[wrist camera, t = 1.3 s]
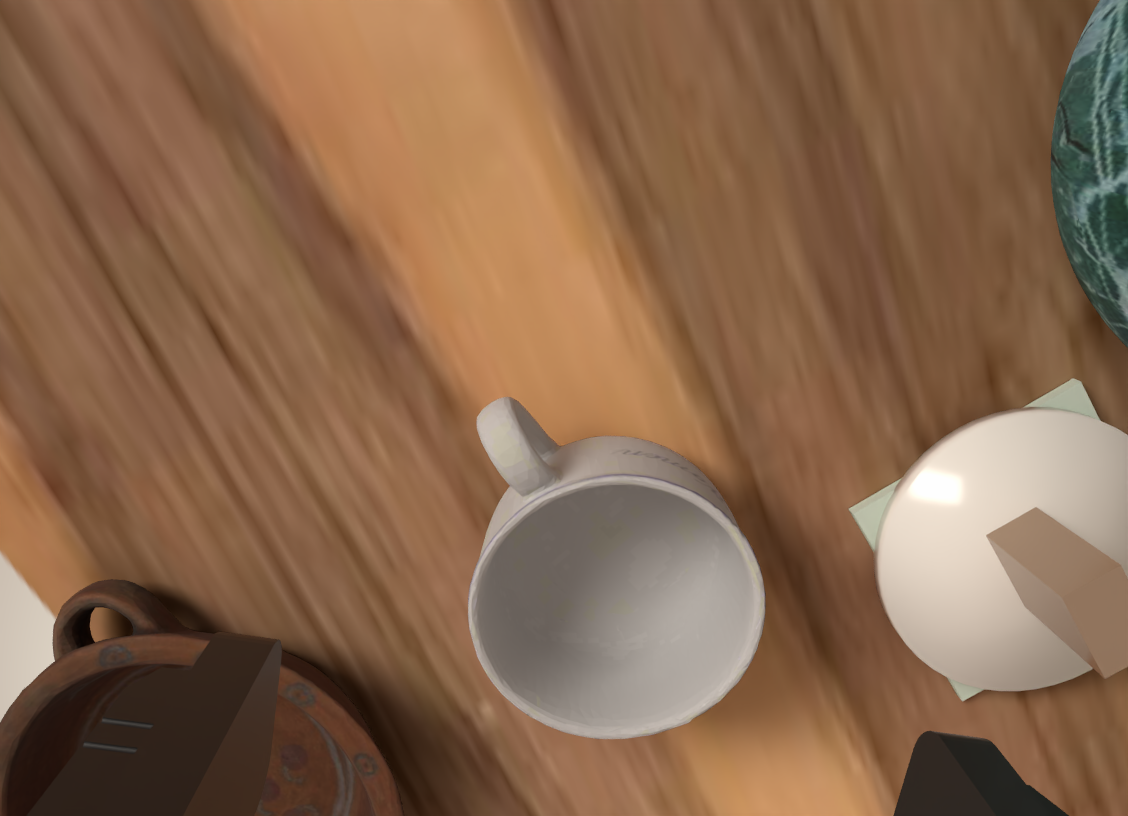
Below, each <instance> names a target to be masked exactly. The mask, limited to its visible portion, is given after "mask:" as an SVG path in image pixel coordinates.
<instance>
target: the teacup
mask: <svg viewBox="0 0 1128 816" xmlns="http://www.w3.org/2000/svg"><path fill="white" fill-rule="evenodd" d="M477 430H478V433H479V436H480V439H481V442H482V444H483V446H484V448H485V449H486V451H487V453H488V455H489V457H490V459H491V461H492V462H493V464H494V465H495V467H496V468H497V470H498V471H499V473H500V474H501V475H502V477H503V478H504V479H505V480H506V482H507V483H508V484H509V485H510V487H509V488H508V490H507V491H506V492H505V494H504V495H503V497H502V499H501V500H500V502H499V504H498V506H497V508H496V510H495V512H494V514H493V516H492V519H491V521H490V524H489V527H488V529H487V533H486V536H485V540H484V544H483V547H482V551H481V555H480V558H479V561H478V563H477V565H476V568H475V571H474V574H473V577H472V581H471V584H470V589H469V598H468V619H469V629H470V633H471V637H472V640H473V644H474V647H475V650H476V653H477V656H478V659H479V661H480V663H481V665H482V667H483V668H484V670H485V672H486V674H487V675H488V677H489V678H490V680H491V681H492V683H493V684H494V685H495V686H496V688H497V689H498V690H499V691H500V692H501V694H502V695H503V696H505V697H506V698H507V699H508V700H509V701H510V702H511V703H512V704H514V705H515V706H516V707H517V708H519V709H520V710H521V711H523V712H524V713H526V714H527V715H528V716H530V717H532V718H534V719H536V720H538V721H539V722H541V723H543V724H545V725H547V726H550V727H552V728H555V729H557V730H559V731H562V732H565V733H569V734H573V735H577V736H583V737H589V738H595V739H627V738H633V737H640V736H647V735H654V734H657V733H660V732H663V731H666V730H669V729H672V728H675V727H678V726H681V725H684V724H687V723H689V722H690V721H691V720H692V719H694V718H695V717H697V716H699V715H701V714H703V713H704V712H706V711H707V710H709V709H710V708H711V707H713V706H714V705H715V704H717V703H718V702H719V701H721V700H722V699H723V698H724V697H725V696H726V694H727V693H728V692H729V691H730V690H731V689H732V688H733V687H734V686H735V685H736V684H737V683H738V682H739V681H740V679H741V678H742V676H743V675H744V673H745V672H746V670H747V668H748V666H749V664H750V663H751V661H752V659H753V657H754V654H755V652H756V650H757V648H758V643H759V640H760V638H761V635H762V631H763V626H764V619H765V607H766V606H765V589H764V584H763V578H762V574H761V569H760V565H759V563H758V561H757V559H756V556H755V553H754V551H753V549H752V547H751V546H750V544H749V542H748V540H747V538H746V537H745V535H744V534H743V533H742V532H741V530H740V528H739V526H738V524H737V522H736V520H735V518H734V516H733V514H732V512H731V511H730V509H729V507H728V506H727V504H726V502H725V500H724V499H723V497H722V496H721V494H720V493H719V491H718V490H717V488H716V487H715V486H714V485H713V483H712V482H711V481H710V480H709V479H708V478H707V477H706V476H705V474H704V473H703V472H702V471H701V470H699V469H698V468H697V467H696V466H695V465H694V464H692V463H691V462H690V461H688V460H687V459H686V458H684V457H683V456H681V455H679V454H677V453H676V452H674V451H672V450H670V449H668V448H666V447H664V446H661V445H659V444H656V443H653V442H651V441H647V440H642V439H638V438H634V437H626V436H599V437H592V438H586V439H583V440H579V441H576V442H572V443H569V444H567V445H564V446H559V445H558V444H557V443H556V442H555V441H554V440H552V439H551V438H550V437H549V436H548V435H547V434H546V432H545V431H544V430H543V429H542V428H541V426H540V425H539V424H538V423H537V422H536V420H535V419H534V418H533V417H532V416H531V415H530V413H529V412H528V411H527V410H526V409H525V408H524V407H523V406H522V405H521V404H520V403H519V402H518V401H516V400H515V399H513V398H511V397H503V398H500V399H497V400H495V401H493V402H492V403H490V404H489V405H488V406H486V407H485V408H484V409H483V410H482V411H481V412H480V414H479V415H478V417H477Z"/></svg>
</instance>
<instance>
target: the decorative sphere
mask: <svg viewBox="0 0 1128 816" xmlns="http://www.w3.org/2000/svg"><path fill="white" fill-rule="evenodd" d="M1051 185H1052V194H1053V202H1054V208H1055V213H1056V219H1057V223H1058V228H1059V232H1060V236H1061V239H1062V242H1063V246H1064V248H1065V251H1066V253H1067V256H1068V258H1069V261H1070V263H1071V266H1072V268H1073V271H1074V273H1075V275H1076V277H1077V279H1078V281H1079V283H1080V285H1081V287H1082V288H1083V290H1084V292H1085V293H1086V295H1087V297H1088V299H1089V300H1090V302H1091V303H1092V305H1093V306H1094V308H1095V309H1096V310H1097V312H1098V313H1099V315H1100V316H1101V318H1102V319H1103V320H1104V322H1105V323H1106V324H1107V325H1108V327H1109V328H1110V329H1111V330H1112V331H1113V332H1114V333H1115V335H1116V336H1117V337H1118V338H1119V339H1120V340H1121V341H1122V343H1123V344H1124V345H1125V346H1126V347H1127V348H1128V0H1100V1H1099V3H1098V4H1097V6H1096V8H1095V10H1094V11H1093V13H1092V15H1091V17H1090V19H1089V21H1088V23H1087V25H1086V27H1085V29H1084V31H1083V33H1082V35H1081V37H1080V40H1079V42H1078V44H1077V46H1076V48H1075V51H1074V53H1073V55H1072V58H1071V61H1070V64H1069V67H1068V69H1067V72H1066V75H1065V79H1064V82H1063V85H1062V89H1061V92H1060V96H1059V101H1058V106H1057V111H1056V115H1055V120H1054V128H1053V135H1052V147H1051Z"/></svg>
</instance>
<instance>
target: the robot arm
mask: <svg viewBox="0 0 1128 816" xmlns="http://www.w3.org/2000/svg"><path fill="white" fill-rule="evenodd" d="M281 655H282V646H281V641H280V640H277V639H270V638H263V637H256V636H248V635H241V634H234V633H227V632H217V633H215V635H214V636H213V637H212V639H211V640H210V642H209V643H208V645H207V646H206V648H205V649H204V651H203V652H202V654H201V655H200V657H199V658H198V659H197V661H196V662H195V664H194V665H193V667H192V668H191V670H190V671H187V670H180V669H172V668H165V667H161V668H159V669H157V670H156V671H154V672H152V673H151V674H149V675H147V676H146V677H144V678H142V679H140V680H139V681H137V682H135V683H134V684H132V685H130V686H129V687H127V688H125V689H124V690H123V692H122V693H121V694H120V695H119V697H118V698H117V699H116V701H115V702H114V703H113V704H112V706H111V707H110V708H109V710H108V711H107V712H106V714H105V715H104V716H103V719H102V722H101V723H98V724H97V725H96V726H95V728H94V729H93V730H92V732H91V733H90V734H89V735H88V737H87V738H86V739H85V741H84V745H83V747H79V748H78V750H77V751H76V752H75V754H74V755H73V756H72V757H71V759H70V760H69V761H68V763H67V764H66V765H65V767H64V768H63V769H62V770H61V772H60V773H59V774H58V776H57V777H56V778H55V779H54V781H53V782H52V783H51V785H50V786H49V787H48V788H47V790H46V791H45V792H44V794H43V795H42V796H41V798H40V799H39V800H38V801H37V803H36V804H35V805H34V807H33V808H32V809H31V810H30V812H29V813H28V814H27V816H254V815H255V813H256V810H257V808H258V805H259V802H260V799H261V796H262V792H263V789H264V785H265V781H266V777H267V772H268V767H269V762H270V755H271V747H272V738H273V729H274V720H275V711H276V702H277V693H278V684H279V675H280V666H281ZM894 816H1069V815H1067V814H1066V813H1065V812H1063V811H1062V810H1061V809H1060V808H1058V807H1057V806H1056V805H1054V804H1053V803H1052V802H1051V801H1049V800H1048V799H1047V798H1045V797H1044V796H1043V795H1041V794H1040V793H1039V792H1038V791H1036V790H1035V789H1034V788H1032V787H1031V786H1030V785H1026V784H1025V782H1024V781H1023V780H1022V779H1021V777H1020V776H1019V775H1018V774H1017V772H1016V771H1015V770H1014V769H1013V767H1012V766H1011V765H1010V764H1009V762H1008V761H1007V760H1006V759H1005V757H1004V756H1003V755H1002V753H1001V752H1000V751H999V750H998V748H997V747H996V746H995V745H994V744H993V743H992V742H991V741H989V740H988V739H984V738H977V737H970V736H963V735H956V734H948V733H941V732H934V731H927V732H924V733H923V734H922V735H921V736H920V737H919V738H918V740H917V742H916V744H915V747H914V749H913V753H912V756H911V759H910V763H909V766H908V769H907V773H906V776H905V779H904V783H903V786H902V789H901V793H900V796H899V799H898V803H897V806H896V809H895V813H894Z"/></svg>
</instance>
